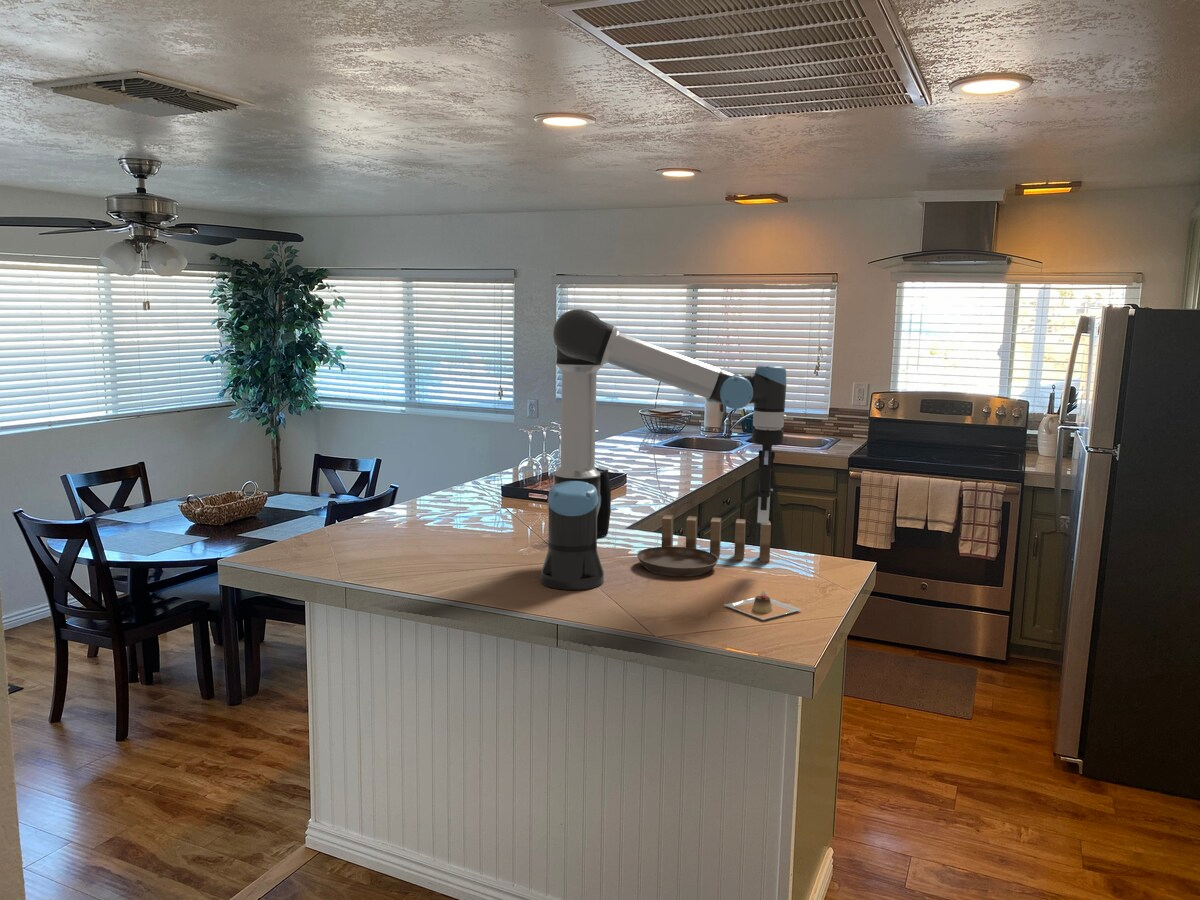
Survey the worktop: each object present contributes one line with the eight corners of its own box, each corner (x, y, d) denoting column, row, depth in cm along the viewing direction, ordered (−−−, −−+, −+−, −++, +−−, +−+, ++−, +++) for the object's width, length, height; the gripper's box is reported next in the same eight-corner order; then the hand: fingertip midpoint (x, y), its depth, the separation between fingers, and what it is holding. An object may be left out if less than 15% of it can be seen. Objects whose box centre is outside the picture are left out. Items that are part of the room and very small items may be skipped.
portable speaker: (615, 535, 261) (617, 469, 258) (592, 540, 254) (593, 473, 251) (595, 530, 267) (596, 465, 264) (572, 534, 260) (573, 469, 257)
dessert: (762, 624, 185) (763, 602, 185) (723, 609, 195) (723, 588, 194) (801, 614, 192) (802, 593, 192) (761, 600, 202) (762, 580, 201)
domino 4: (743, 560, 234) (744, 523, 233) (734, 559, 235) (735, 522, 234) (744, 555, 239) (745, 519, 238) (735, 555, 240) (736, 518, 238)
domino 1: (670, 555, 238) (671, 519, 237) (661, 554, 239) (662, 518, 238) (672, 550, 243) (673, 515, 242) (663, 550, 244) (664, 514, 242)
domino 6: (769, 561, 233) (771, 524, 232) (760, 561, 233) (761, 524, 232) (768, 557, 238) (769, 520, 237) (759, 556, 238) (760, 520, 237)
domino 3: (718, 558, 236) (719, 521, 234) (709, 558, 236) (710, 521, 235) (720, 554, 241) (721, 518, 239) (711, 553, 241) (712, 517, 240)
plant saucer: (723, 561, 234) (723, 549, 233) (710, 583, 214) (710, 570, 213) (647, 555, 239) (647, 543, 239) (627, 575, 220) (628, 562, 219)
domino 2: (694, 557, 237) (695, 520, 236) (685, 556, 238) (686, 520, 236) (696, 552, 242) (697, 516, 241) (687, 551, 242) (688, 516, 241)
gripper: (783, 433, 210) (777, 529, 213) (783, 425, 227) (778, 514, 230) (751, 431, 211) (746, 526, 214) (754, 423, 229) (749, 511, 232)
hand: (763, 519), depth 222 cm, fingers closed on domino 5, 5 cm apart
